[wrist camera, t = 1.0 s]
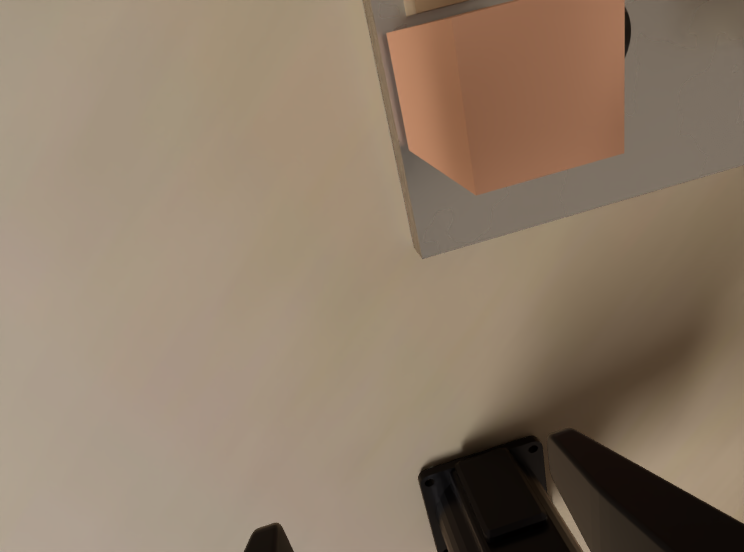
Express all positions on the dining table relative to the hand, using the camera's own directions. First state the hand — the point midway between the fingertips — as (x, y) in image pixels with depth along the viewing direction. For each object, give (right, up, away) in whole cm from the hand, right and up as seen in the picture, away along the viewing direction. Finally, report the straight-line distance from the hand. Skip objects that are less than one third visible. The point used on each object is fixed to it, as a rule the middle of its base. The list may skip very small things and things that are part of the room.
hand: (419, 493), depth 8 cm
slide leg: (+2, +10, +7) cm, 13 cm away
